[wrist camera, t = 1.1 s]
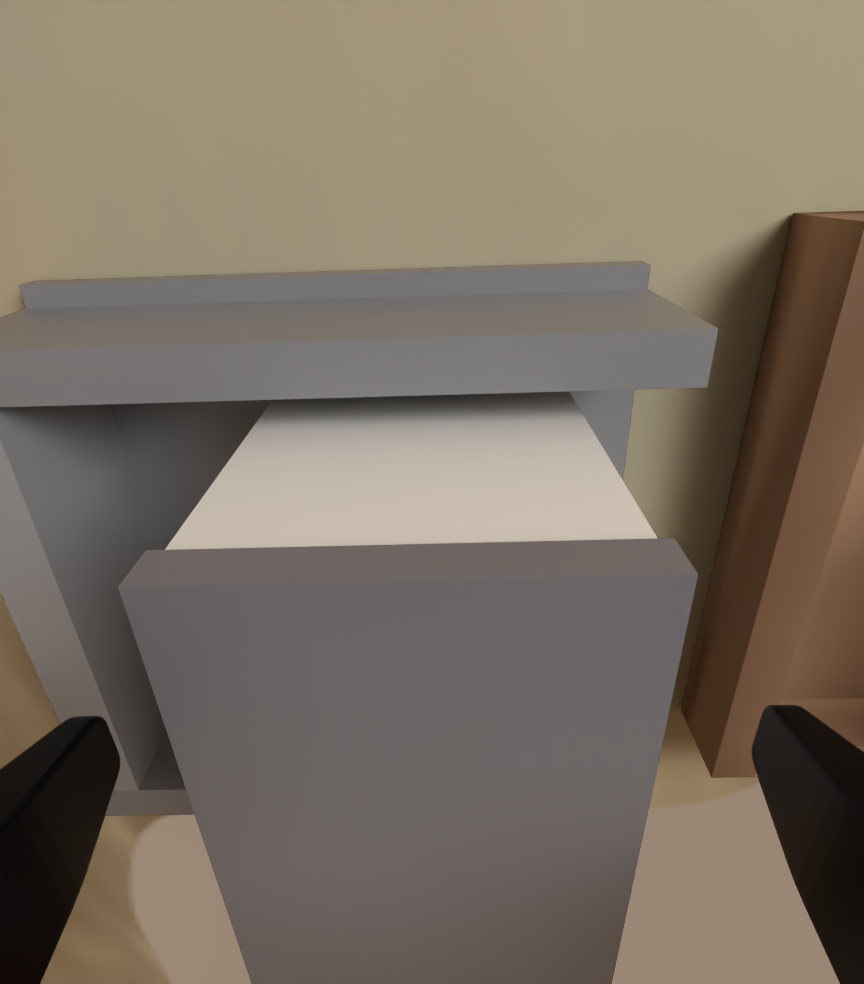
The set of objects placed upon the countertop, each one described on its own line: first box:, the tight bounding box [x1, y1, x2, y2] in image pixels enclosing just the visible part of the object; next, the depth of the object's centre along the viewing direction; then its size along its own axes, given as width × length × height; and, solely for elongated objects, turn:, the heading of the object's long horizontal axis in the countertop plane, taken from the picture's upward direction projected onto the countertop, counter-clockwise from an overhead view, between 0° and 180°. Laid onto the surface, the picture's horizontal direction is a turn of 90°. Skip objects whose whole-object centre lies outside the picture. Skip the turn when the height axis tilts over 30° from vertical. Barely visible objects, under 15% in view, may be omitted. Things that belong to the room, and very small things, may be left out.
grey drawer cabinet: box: [0, 261, 718, 816], centre depth 12 cm, size 11×11×4 cm
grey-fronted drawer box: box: [118, 391, 698, 984], centre depth 10 cm, size 5×7×7 cm
